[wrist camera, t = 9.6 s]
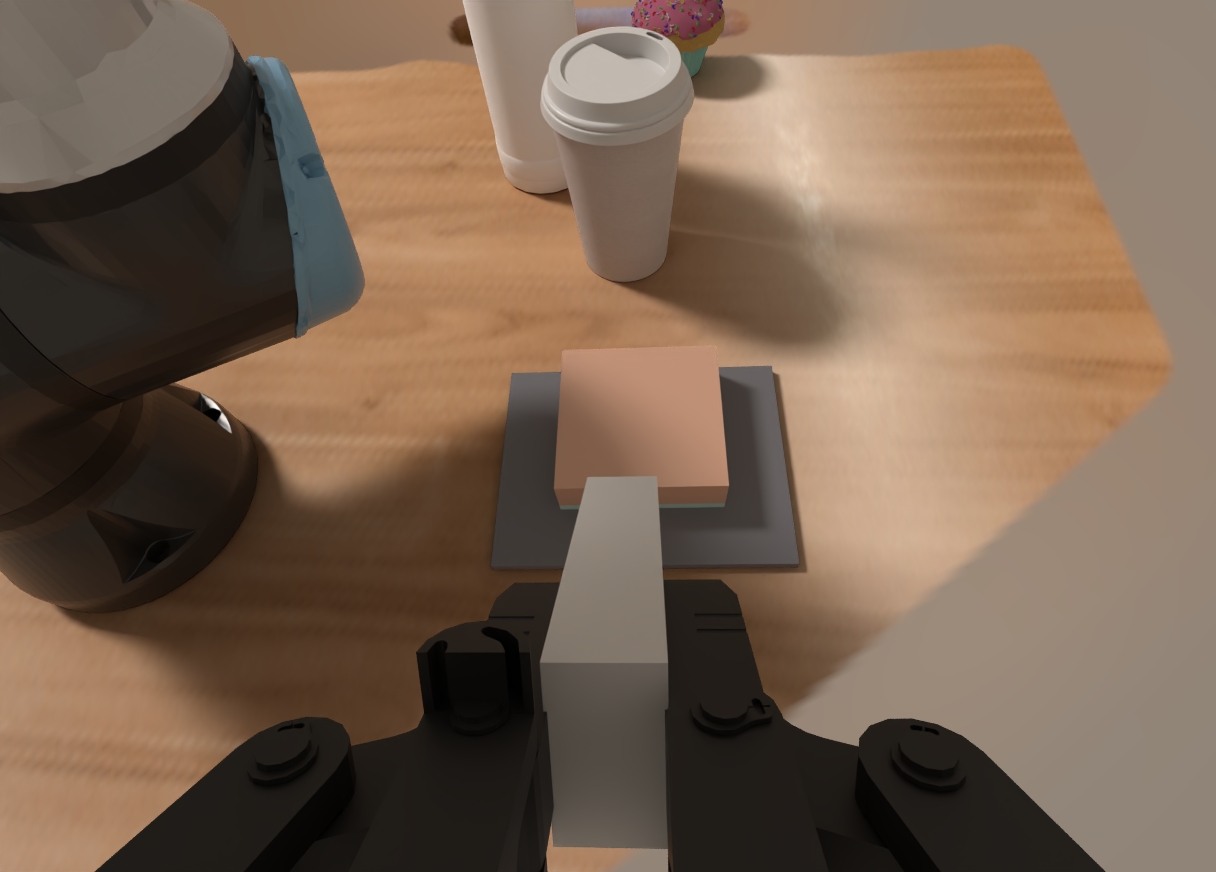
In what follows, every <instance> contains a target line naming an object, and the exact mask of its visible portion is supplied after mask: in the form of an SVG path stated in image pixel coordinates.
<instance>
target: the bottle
mask: <svg viewBox="0 0 1216 872" xmlns="http://www.w3.org/2000/svg"><path fill="white" fill-rule="evenodd" d="M463 4H464V9H465V13H466V17H467V21H468V25H469V29H470V33H471V37H472V41H473V46H474V50H475V54H476V57H477V62H478V66H479V70H480V74H481V78H482V83H483V87H484V91H485V95H486V99H487V103H488V107H489V111H490V115H491V120H492V124H493V128H494V132H495V136H496V138H495V140H496V145H497V149H498V153H499V157H500V161H501V164H502V166H503V169H504V173H505V176H506V179H507V180H508V181H509V182H510V183H511V184H512V185H513V186H515V187H517V188H519V189H521V190H523V191H526V192H532V193H539V194H543V193H553V192H558V191H560V190H563V189H566V188H568V185H567V181H566V177H565V173H564V169H563V165H562V161H561V157H560V153H559V149H558V145H557V141H556V138H555V134H554V130H553V128H552V127H551V126H550V125H549V124H548V123H547V122H546V120H545V119H544V117H543V115H542V112H541V107H540V101H541V91H542V87H543V83H544V79H545V77H546V75H547V73H548V71H549V64H550V61H551V59H552V57H553V55H554V54H555V52H556V51H557V50H558V49H559V48H560V47H561V46H562V45H564V44H565V43H566V42H568V41H569V40H571V39H573V38H575V37H577V36H578V35H577V25H576V16H575V6H574V0H463Z"/></svg>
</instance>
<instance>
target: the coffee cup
mask: <svg viewBox="0 0 1216 872" xmlns="http://www.w3.org/2000/svg"><path fill="white" fill-rule="evenodd" d="M693 100H694V88H693V84H692V80H691V76H690V74H689V71H688V69H687V67H686V65H685V64H684V62H683V61H682V59H681V55H680V52H679V50H678V48H677V47H676V46H675V44H674V43H673V42H672V41H670V40H669V39H668V38H666V37H665V36H663V35H661V34H659V33H656V32H654V31H651V30H647V29H642V28H636V27H609V28H602V29H597V30H593V31H590V32H587V33H584V34H581V35H579V36H577V37H575V38H573V39H571V40H569V41H568V42H566V43H565V44H564V45H562V46H561V47H560V48H559V49H558V50H557V51H556V52H555V54H554V55H553V57H552V59H551V61H550V64H549V71H548V73H547V75H546V77H545V79H544V83H543V87H542V91H541V101H540V107H541V112H542V115H543V117H544V119H545V120H546V122H547V123H548V124H549V125H550V126H551V127H552V128H553V130H554V134H555V138H556V141H557V145H558V149H559V153H560V157H561V161H562V165H563V169H564V173H565V177H566V181H567V185H568V189H569V193H570V197H571V201H572V205H573V209H574V213H575V217H576V221H577V225H578V229H579V233H580V237H581V241H582V245H583V249H584V253H585V257H586V261H587V263H588V265H589V267H590V268H591V269H592V270H593V271H594V272H595V273H596V274H598V275H599V276H601V277H603V278H605V279H608V280H612V281H618V282H630V281H636V280H640V279H643V278H645V277H647V276H649V275H651V274H653V273H654V272H655V271H657V270H658V269H659V268H660V266H661V265H662V264H663V262H664V260H665V258H666V254H667V246H668V238H669V230H670V222H671V214H672V206H673V198H674V190H675V182H676V175H677V167H678V159H679V151H680V144H681V136H682V129H683V121H684V118H685V116H686V115H687V114H688V112H689V111H690V109H691V107H692V104H693Z"/></svg>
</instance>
